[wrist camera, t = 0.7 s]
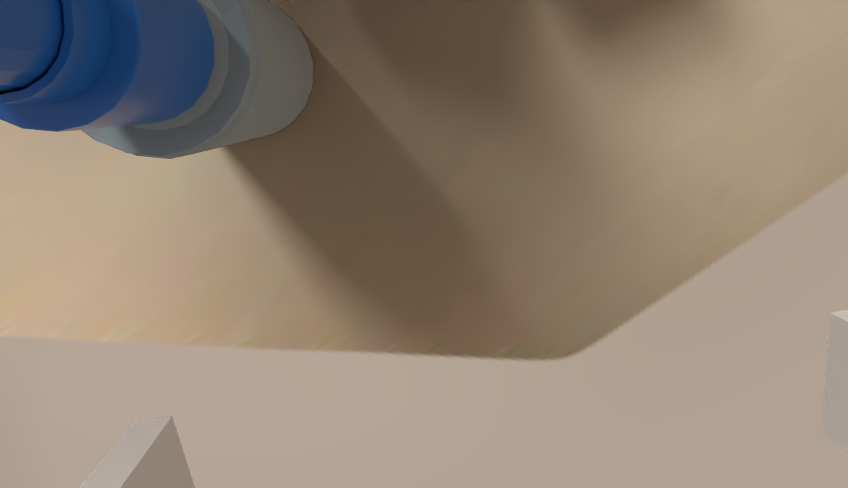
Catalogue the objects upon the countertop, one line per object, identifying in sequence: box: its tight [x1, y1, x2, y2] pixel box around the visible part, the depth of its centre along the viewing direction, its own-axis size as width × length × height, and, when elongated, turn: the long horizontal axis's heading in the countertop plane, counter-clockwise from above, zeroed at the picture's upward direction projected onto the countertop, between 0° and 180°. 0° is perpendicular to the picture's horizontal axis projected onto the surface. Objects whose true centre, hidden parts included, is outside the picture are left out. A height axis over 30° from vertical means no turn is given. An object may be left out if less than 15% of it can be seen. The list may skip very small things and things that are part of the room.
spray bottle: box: [0, 0, 314, 159], centre depth 22 cm, size 9×9×25 cm
